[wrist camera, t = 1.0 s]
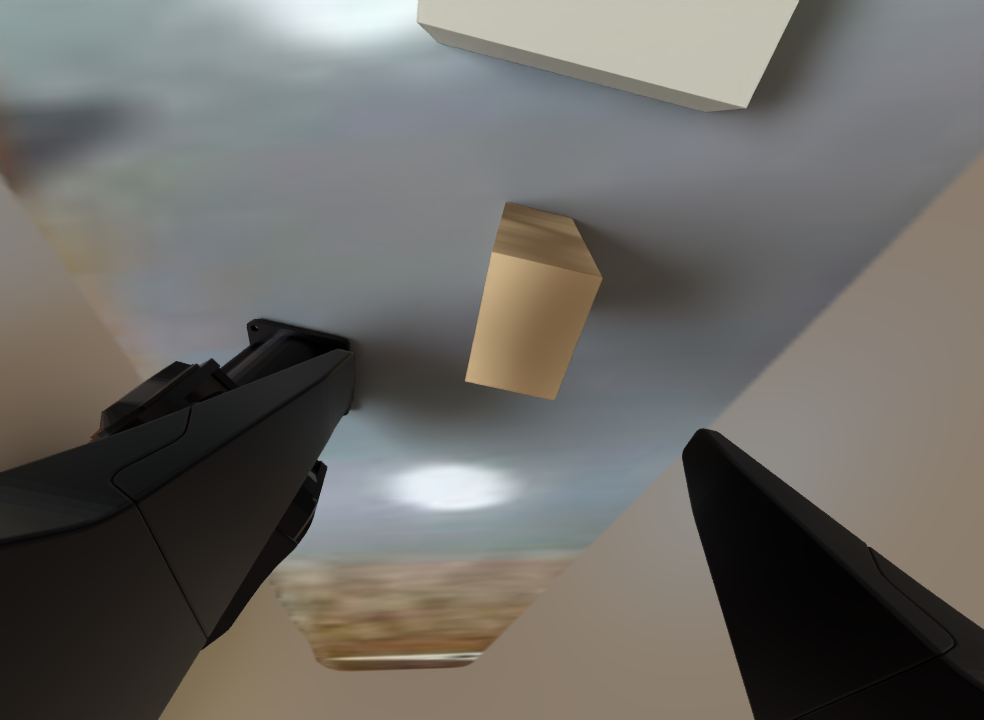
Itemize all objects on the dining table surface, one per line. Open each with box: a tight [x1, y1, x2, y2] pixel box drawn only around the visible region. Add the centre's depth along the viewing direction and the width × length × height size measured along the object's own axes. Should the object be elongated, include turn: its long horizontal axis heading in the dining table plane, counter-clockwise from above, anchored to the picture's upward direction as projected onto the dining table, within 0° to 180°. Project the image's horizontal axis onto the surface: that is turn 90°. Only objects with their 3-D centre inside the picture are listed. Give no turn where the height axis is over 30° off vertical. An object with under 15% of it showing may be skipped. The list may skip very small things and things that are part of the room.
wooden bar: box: [465, 202, 603, 400], centre depth 16 cm, size 4×5×9 cm
